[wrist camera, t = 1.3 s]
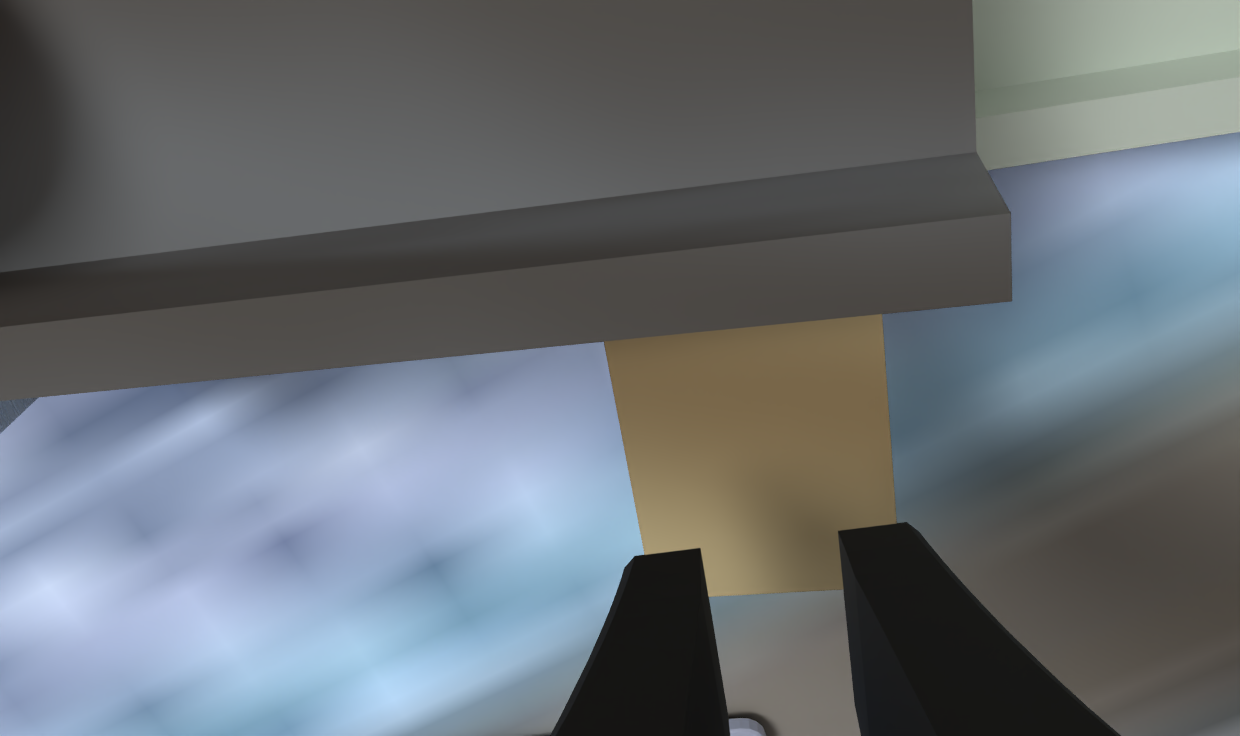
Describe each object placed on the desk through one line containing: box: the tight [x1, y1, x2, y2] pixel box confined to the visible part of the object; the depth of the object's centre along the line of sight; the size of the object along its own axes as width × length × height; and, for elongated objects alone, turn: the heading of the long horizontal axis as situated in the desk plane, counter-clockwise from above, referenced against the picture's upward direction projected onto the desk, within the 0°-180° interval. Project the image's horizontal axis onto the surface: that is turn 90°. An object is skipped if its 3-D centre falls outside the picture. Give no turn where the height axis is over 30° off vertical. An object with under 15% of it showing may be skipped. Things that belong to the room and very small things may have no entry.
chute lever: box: [0, 0, 1012, 597], centre depth 11 cm, size 12×14×3 cm
